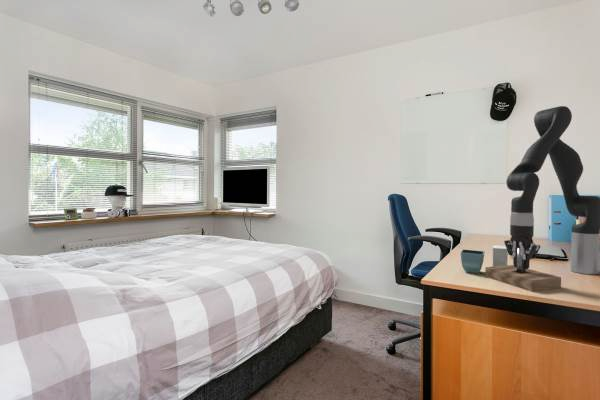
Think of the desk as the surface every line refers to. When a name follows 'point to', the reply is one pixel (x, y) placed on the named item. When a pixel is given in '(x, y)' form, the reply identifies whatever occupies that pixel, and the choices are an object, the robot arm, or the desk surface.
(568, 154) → the robot arm
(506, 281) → the hole block
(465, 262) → the flower pot
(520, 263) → the peg
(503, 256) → the small box
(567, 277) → the desk surface
